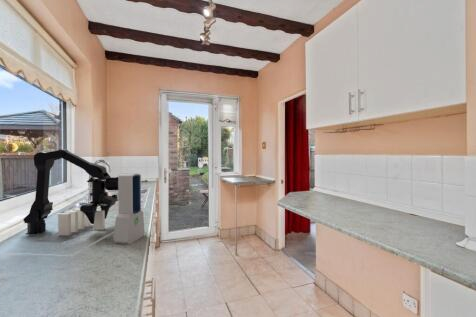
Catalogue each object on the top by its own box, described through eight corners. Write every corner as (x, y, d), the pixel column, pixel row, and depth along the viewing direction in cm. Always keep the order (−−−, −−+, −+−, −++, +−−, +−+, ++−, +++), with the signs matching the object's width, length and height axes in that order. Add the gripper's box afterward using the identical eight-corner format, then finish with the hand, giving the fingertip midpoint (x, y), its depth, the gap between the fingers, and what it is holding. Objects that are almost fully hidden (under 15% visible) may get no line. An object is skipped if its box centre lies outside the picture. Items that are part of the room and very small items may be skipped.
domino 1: (58, 235, 110) (58, 214, 110) (61, 233, 112) (61, 213, 112) (68, 235, 110) (68, 214, 110) (71, 234, 112) (70, 213, 111)
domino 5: (93, 230, 119) (93, 210, 119) (95, 229, 120) (95, 210, 120) (102, 230, 118) (102, 211, 118) (104, 229, 120) (104, 210, 120)
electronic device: (127, 245, 100) (127, 174, 99) (112, 243, 101) (111, 174, 101) (145, 235, 112) (144, 172, 111) (131, 234, 113) (130, 172, 113)
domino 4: (79, 226, 124) (79, 207, 123) (81, 225, 125) (81, 206, 125) (88, 226, 123) (88, 207, 123) (90, 225, 125) (90, 207, 125)
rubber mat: (36, 242, 103) (36, 241, 103) (77, 225, 127) (77, 224, 127) (61, 243, 102) (61, 241, 102) (98, 226, 126) (98, 225, 126)
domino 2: (66, 232, 115) (65, 211, 115) (68, 230, 116) (68, 210, 116) (75, 232, 114) (75, 211, 114) (78, 231, 116) (77, 211, 116)
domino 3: (73, 229, 119) (72, 209, 119) (75, 228, 121) (75, 208, 121) (82, 229, 119) (82, 209, 119) (84, 228, 120) (84, 209, 120)
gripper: (101, 194, 109) (101, 227, 109) (124, 188, 128) (124, 216, 128) (78, 193, 110) (79, 226, 110) (104, 188, 129) (105, 216, 129)
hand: (98, 221), depth 119 cm, fingers open, 9 cm apart
